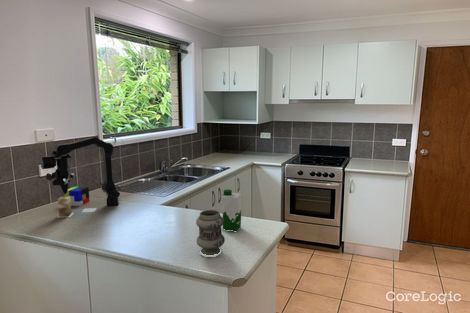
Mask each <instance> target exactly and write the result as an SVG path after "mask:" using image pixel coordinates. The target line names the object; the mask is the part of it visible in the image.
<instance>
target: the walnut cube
mask: <svg viewBox="0 0 470 313" xmlns="http://www.w3.org/2000/svg"><path fill="white" fill-rule="evenodd" d="M71 210H72V205H71V206H69V207H68V208H59V207H58V215H59V217H65V218H67V217H66V216H70V215H71V214H72V211H71Z"/></svg>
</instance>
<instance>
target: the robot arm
mask: <svg viewBox="0 0 470 313" xmlns="http://www.w3.org/2000/svg"><path fill="white" fill-rule="evenodd" d="M92 145H94V146H96V147H98V148H99V151H100V154H101V156H102V162H103V175H104V176H103V177H104V180H103V182H100V185H101V190H102V192H103V193H104V194H105V195H106V197H107V198H106V199H105V200H106V201H105V202H106V206H107V207H118V206H119V205H120V200H119V198H120V195H121V192H120V191H118V190H117V188H116V184H115V182H114V180H113V167H112V166H113V165H112V156H113V153H114V145H113V144H112V143H110V142H107V141H104V140H102V139H100V138H98V137H96V136H91V137H88V138H84V139H80V140H77V141H73V142H67V143H66V142H64V143H58V144H56V145H55V146H54V148H53V151H52V152H51V154H50V155H46V156H44V155H43V156H41V157H40V163H39V164H40V168H41V170H47V169H48V170H49V169H54V168H55V167H56V169H55V171H53V172H48V173H46V175H45V180H47V181H51V180H52V182H51V183H52V186H60V188H61V191H62V192H63V194H67V191H68V189H69V188H70V185H71V183H72V179H75V173H74V172H70V169H71V167H69V159H72V158H73V157H72V156H71V155H70V153H71V152H73V151H74V150H78V149H82V148H85V147H89V146H92ZM71 178H72V179H71ZM53 179H54V180H53Z"/></svg>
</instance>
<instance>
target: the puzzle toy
mask: <svg viewBox="0 0 470 313" xmlns="http://www.w3.org/2000/svg"><path fill="white" fill-rule="evenodd" d="M89 188H90V187H88V186H72V187H69V188H68V191H67V194H64V193H63V194H64V195H63V197H70V199H71V207H72V206H73V207H74V206H75V207H80V206H83V205H85V204H86V203H89V202H90V189H89Z"/></svg>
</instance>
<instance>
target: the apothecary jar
mask: <svg viewBox="0 0 470 313" xmlns="http://www.w3.org/2000/svg"><path fill="white" fill-rule="evenodd" d="M195 220H196V221H195V224H196V226H197V227H198V232H199V233H198V236H197V238H196V244H197V246H198V247H200V248H201V249H200V250H201V252H202V253H203V254H206V255H214V254H218V253H219V252H220V249H221V247H222V246H223V245H224V244H225V241H226V240H225V236H224V235H223V234H222V227H223V224H224V219H223V216H221V212H220V211H219V210H216V209H206V210H205V209H204V210H203V211H200V212H199V216H198V217H197V218H196V219H195ZM219 248H220V249H219Z"/></svg>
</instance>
